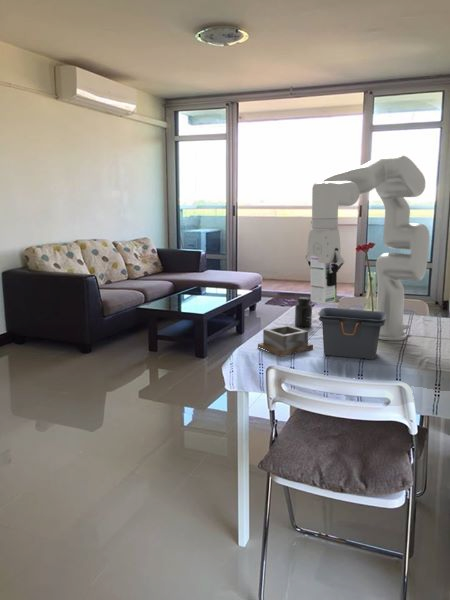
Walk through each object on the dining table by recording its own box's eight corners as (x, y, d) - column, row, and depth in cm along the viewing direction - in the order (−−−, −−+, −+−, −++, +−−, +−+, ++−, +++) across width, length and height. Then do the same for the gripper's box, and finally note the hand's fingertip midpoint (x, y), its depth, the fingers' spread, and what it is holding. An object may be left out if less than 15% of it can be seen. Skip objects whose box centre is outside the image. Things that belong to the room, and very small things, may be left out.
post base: (290, 341, 184) (290, 323, 182) (313, 348, 174) (313, 330, 172) (257, 347, 176) (257, 330, 174) (279, 356, 166) (279, 337, 165)
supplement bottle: (311, 329, 200) (312, 299, 198) (294, 328, 202) (294, 299, 199) (311, 324, 207) (312, 296, 205) (295, 324, 208) (295, 296, 206)
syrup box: (324, 304, 149) (325, 256, 146) (309, 301, 153) (310, 254, 150) (336, 301, 152) (338, 254, 149) (321, 299, 157) (322, 253, 154)
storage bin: (384, 351, 170) (386, 310, 167) (383, 365, 156) (385, 321, 153) (321, 346, 177) (322, 307, 174) (314, 359, 162) (315, 316, 160)
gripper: (295, 224, 153) (295, 281, 157) (336, 226, 139) (335, 289, 143) (314, 222, 157) (313, 279, 161) (355, 225, 143) (353, 286, 146)
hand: (323, 283), depth 152 cm, fingers closed on syrup box, 6 cm apart
